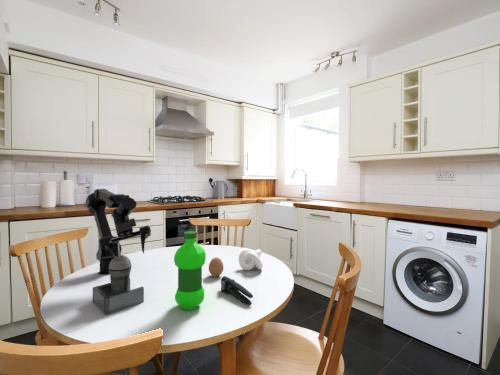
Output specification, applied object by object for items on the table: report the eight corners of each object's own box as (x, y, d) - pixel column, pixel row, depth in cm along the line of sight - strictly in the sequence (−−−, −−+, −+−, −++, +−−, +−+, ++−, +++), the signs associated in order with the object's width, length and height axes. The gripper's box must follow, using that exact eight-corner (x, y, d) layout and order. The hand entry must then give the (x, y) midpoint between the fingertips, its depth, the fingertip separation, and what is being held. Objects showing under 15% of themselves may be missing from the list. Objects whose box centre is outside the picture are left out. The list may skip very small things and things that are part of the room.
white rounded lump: (246, 262, 134) (246, 245, 133) (268, 266, 128) (268, 248, 128) (236, 269, 124) (236, 250, 123) (259, 274, 118) (259, 254, 118)
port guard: (128, 290, 98) (128, 277, 98) (143, 301, 90) (143, 287, 90) (92, 301, 89) (92, 287, 89) (105, 314, 81) (105, 299, 81)
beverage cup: (114, 307, 85) (114, 246, 85) (104, 300, 90) (104, 243, 89) (135, 299, 91) (135, 242, 90) (125, 293, 95) (125, 239, 95)
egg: (224, 273, 118) (224, 255, 118) (222, 279, 112) (222, 260, 111) (210, 273, 118) (210, 255, 118) (207, 278, 112) (207, 259, 112)
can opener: (216, 290, 101) (216, 275, 101) (231, 285, 105) (231, 272, 105) (242, 308, 87) (242, 292, 87) (258, 303, 91) (259, 287, 91)
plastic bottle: (199, 315, 82) (200, 236, 81) (168, 311, 84) (168, 234, 83) (209, 300, 92) (210, 230, 91) (181, 297, 93) (182, 228, 93)
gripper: (93, 219, 97) (102, 259, 91) (145, 207, 105) (156, 242, 100) (97, 230, 105) (105, 267, 100) (145, 218, 114) (155, 251, 109)
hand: (131, 256), depth 102 cm, fingers open, 9 cm apart
